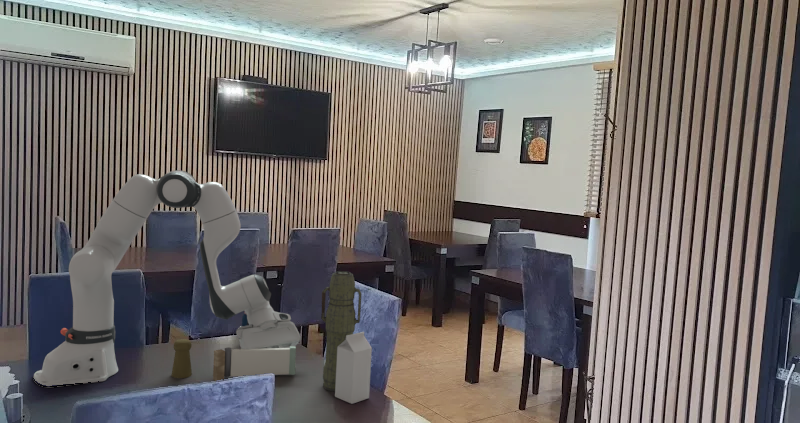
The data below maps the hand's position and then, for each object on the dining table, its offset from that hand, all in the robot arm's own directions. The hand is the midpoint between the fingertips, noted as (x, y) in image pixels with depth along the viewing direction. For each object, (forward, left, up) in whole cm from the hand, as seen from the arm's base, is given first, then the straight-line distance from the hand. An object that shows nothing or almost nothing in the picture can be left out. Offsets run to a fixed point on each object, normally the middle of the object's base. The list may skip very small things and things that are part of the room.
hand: (278, 360), depth 197 cm
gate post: (-18, +5, -4) cm, 19 cm away
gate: (-6, +1, -4) cm, 7 cm away
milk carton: (+7, -29, -5) cm, 30 cm away
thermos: (+9, -19, -5) cm, 22 cm away
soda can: (+8, +32, -5) cm, 33 cm away
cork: (-25, +15, -5) cm, 29 cm away
